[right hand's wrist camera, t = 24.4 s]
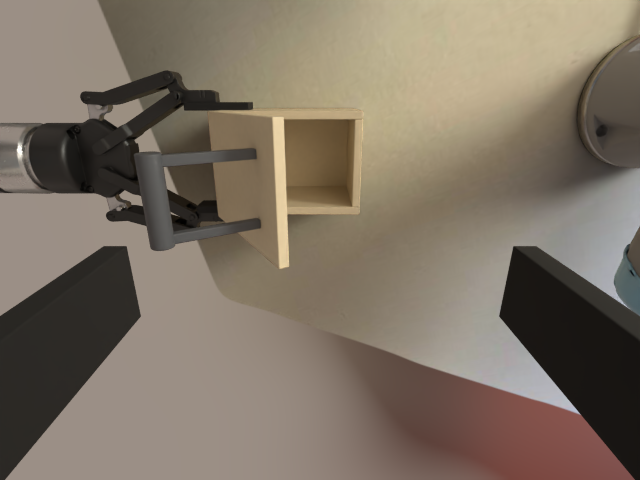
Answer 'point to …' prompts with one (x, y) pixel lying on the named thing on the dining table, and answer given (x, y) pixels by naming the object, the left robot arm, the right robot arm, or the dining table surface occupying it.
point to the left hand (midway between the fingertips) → (254, 158)
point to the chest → (320, 158)
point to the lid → (227, 185)
